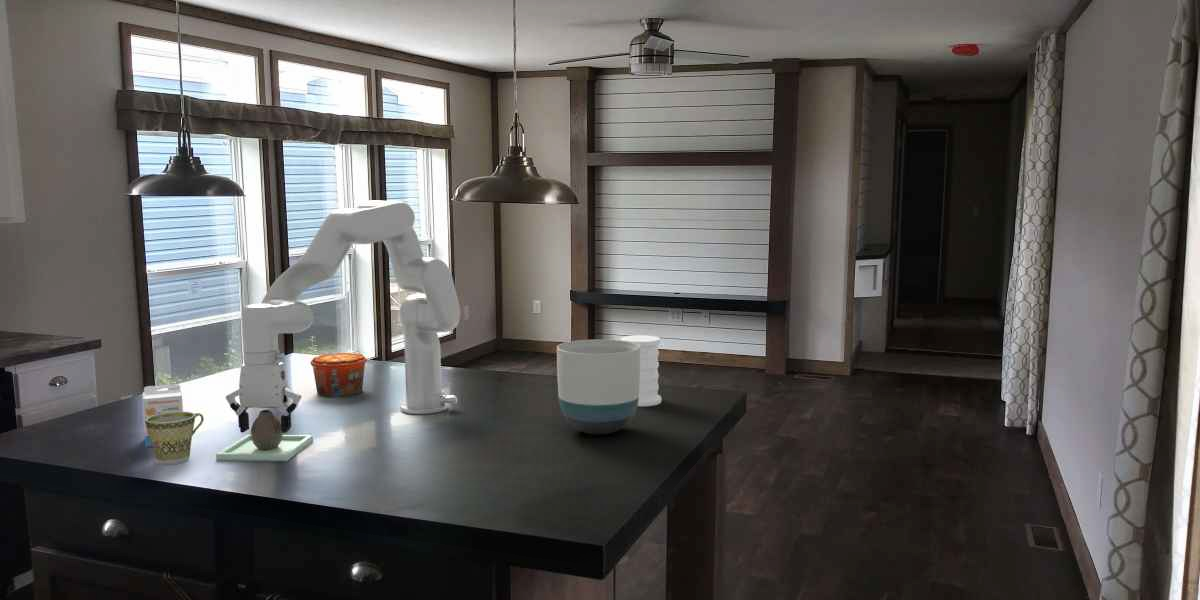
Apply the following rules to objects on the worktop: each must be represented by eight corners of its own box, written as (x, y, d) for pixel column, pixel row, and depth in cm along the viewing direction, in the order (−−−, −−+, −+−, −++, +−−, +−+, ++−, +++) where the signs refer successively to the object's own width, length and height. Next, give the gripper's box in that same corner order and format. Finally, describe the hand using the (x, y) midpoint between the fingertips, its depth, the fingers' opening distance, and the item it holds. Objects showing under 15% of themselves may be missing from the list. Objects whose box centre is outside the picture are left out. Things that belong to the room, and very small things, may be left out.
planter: (599, 417, 239) (599, 336, 236) (657, 431, 225) (657, 346, 222) (540, 431, 225) (539, 346, 222) (598, 448, 210) (597, 357, 208)
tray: (313, 441, 218) (312, 435, 217) (286, 461, 202) (286, 454, 202) (247, 440, 219) (247, 434, 218) (216, 460, 203) (215, 454, 202)
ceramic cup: (165, 470, 196) (162, 425, 195) (138, 462, 201) (135, 418, 200) (218, 454, 207) (216, 412, 206) (192, 448, 212) (189, 406, 211)
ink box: (145, 447, 213) (141, 391, 211) (144, 439, 220) (140, 385, 219) (185, 442, 217) (182, 388, 215) (183, 434, 224) (180, 381, 223)
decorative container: (655, 407, 249) (655, 342, 246) (614, 404, 252) (614, 340, 250) (665, 398, 259) (666, 336, 257) (627, 395, 263) (627, 334, 261)
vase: (262, 453, 205) (260, 416, 204) (246, 448, 210) (243, 411, 209) (289, 446, 211) (287, 410, 210) (273, 441, 215) (271, 405, 214)
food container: (379, 390, 271) (378, 355, 270) (337, 401, 258) (336, 364, 256) (342, 384, 280) (340, 350, 278) (300, 394, 266) (298, 358, 265)
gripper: (304, 355, 211) (308, 427, 213) (232, 354, 212) (236, 426, 214) (292, 361, 203) (295, 436, 205) (216, 361, 204) (221, 435, 206)
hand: (265, 431), depth 210 cm, fingers open, 9 cm apart
